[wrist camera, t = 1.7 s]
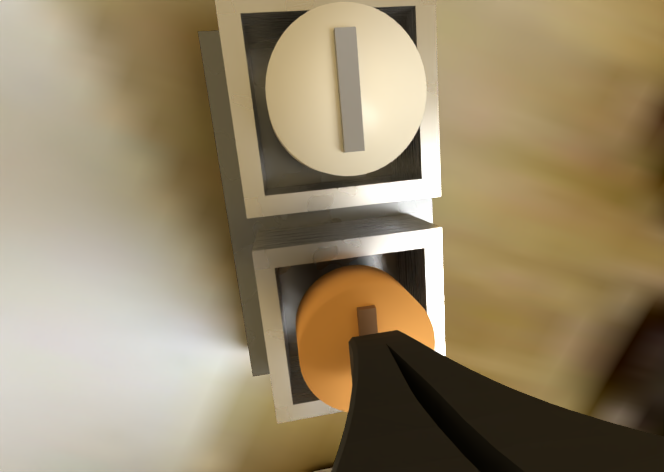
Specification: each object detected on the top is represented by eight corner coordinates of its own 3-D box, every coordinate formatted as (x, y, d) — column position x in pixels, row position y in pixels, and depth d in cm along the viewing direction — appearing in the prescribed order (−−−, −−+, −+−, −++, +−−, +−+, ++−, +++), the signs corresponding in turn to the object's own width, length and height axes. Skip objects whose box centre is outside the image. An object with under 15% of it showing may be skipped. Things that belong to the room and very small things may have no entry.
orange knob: (413, 363, 13) (439, 404, 11) (302, 383, 12) (307, 429, 10) (407, 257, 12) (435, 278, 10) (288, 273, 11) (291, 299, 9)
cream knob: (403, 166, 11) (432, 168, 9) (277, 179, 11) (276, 184, 9) (396, 28, 10) (427, -6, 8) (258, 35, 10) (253, 1, 8)
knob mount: (419, 325, 18) (472, 387, 13) (255, 351, 17) (247, 429, 12) (406, 38, 15) (469, -21, 10) (209, 49, 14) (172, -11, 9)
